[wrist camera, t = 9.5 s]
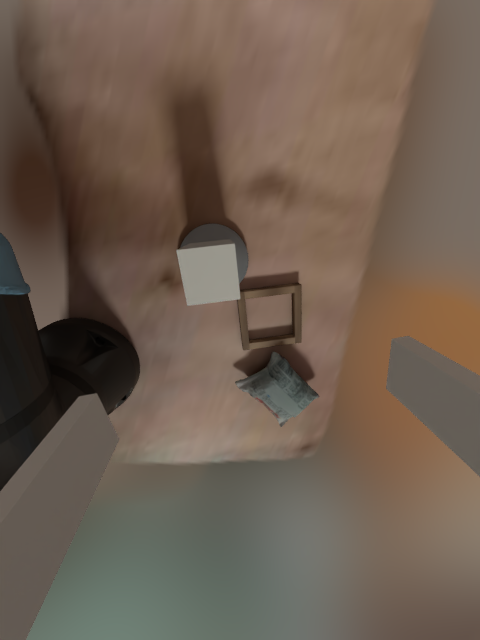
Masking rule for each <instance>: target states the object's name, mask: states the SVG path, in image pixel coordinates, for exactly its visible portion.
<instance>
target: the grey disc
mask: <svg viewBox="0 0 480 640" xmlns="http://www.w3.org/2000/svg"><path fill="white" fill-rule="evenodd" d="M226 239H230V240H231V241H232V242H234V243H235V251H236V260H237V270H238V279H239V283H240V282H241V281H242V280H243V278H244V276H245V274H246V271H247V268H248V253H247V249H246V246H245V244H244V242H243V241H242V239H241V238H240V236H239V235H238V234H237V233H236V232H234V231H233V230H232V229H230V228H228V227H226V226H224V225H220V224H205V225H202V226H199V227H197V228H195V229H194V230H192V231H191V232H190V233H189V234H188V235H187V236H186V237H185V239H184V240H183V242H182V244H181V247H180V248H182V247H184V246H186V245H188V244H190V243H199V242H208V241H217V240H226Z"/></svg>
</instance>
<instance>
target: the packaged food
mask: <svg viewBox="0 0 480 640" xmlns="http://www.w3.org/2000/svg"><path fill="white" fill-rule="evenodd" d="M235 383H236V385H237V386H238V388H239V389H241V390H242V391H243V392H248V393H249V394H250V395H251V396H252V397H253V398H255V399H256V400H257V401H259V402H261V403H263V404H264V406H266V408H267V409H268V410H269V411H270V412H272V413H273V415H274V416H275V417H276V418H277V420H278V422H279V424H280V427H282V426H283V425H284V424H285V422H287V420H288V419H289V418H291V417H292V416H293V417H294V418H295V417H296V416H297V415H298V414H299V413H300V412H301V411H302V410H304V409H305V408H306V407H307V406H308V405H309V404H310V403H311V402H312V401H313V400H314V399H316V398H318V397H319V395H318V394H317V393H316V392H315V391H314V390H313V389H312V388H311V387H310V386H309V385H308V384H307V383H306V382H305V381H304V380H303V379H302V378H301V377H300V376H298V375H297V373H296V372H295V371H294V370H293V369H292V368H291V366H290V365H289V363H288V361H287V360H286V359H285V358H284V357H282V356H281V355H280V354H278V353H276V352H273V353H272V354H271V360H270V361H269V363H268V365H267V366H266V367H265V368H264V369H262V370H261V371H260V372H258V373H256V374H254V375H252V376H250V377H247V378H245V379H243V380H239V381H236V382H235Z"/></svg>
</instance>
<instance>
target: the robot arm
mask: <svg viewBox="0 0 480 640" xmlns="http://www.w3.org/2000/svg"><path fill="white" fill-rule="evenodd" d="M29 292H30V287H29V285H28V284H26V283H25V282H24V279H23V276H22V274H21V271H20V268H19V265H18V263H17V260H16V257H15V255H14V252H13V249H12V247H11V245H10V243H9V242H8V240H7V239H6V238H5V237H4V236H3V235H2V234H1V233H0V640H26V638H27V636H28V633H29V632H30V629H31V627H32V625H33V623H34V621H35V619H36V617H37V614H38V612H39V610H40V608H41V606H42V604H43V602H44V599H45V597H46V595H47V593H48V591H49V589H50V587H51V584H52V582H53V580H54V578H55V576H56V574H57V572H58V569H59V567H60V565H61V563H62V561H63V559H64V557H65V555H66V552H67V550H68V548H69V546H70V544H71V542H72V540H73V537H74V535H75V533H76V531H77V529H78V527H79V524H80V522H81V520H82V518H83V516H84V514H85V512H86V510H87V507H88V505H89V503H90V501H91V499H92V497H93V495H94V492H95V490H96V488H97V486H98V484H99V482H100V480H101V477H102V475H103V473H104V471H105V469H106V467H107V465H108V462H109V460H110V458H111V456H112V454H113V452H114V450H115V447H116V445H117V443H118V441H119V437H118V435H117V433H116V431H115V429H114V427H113V425H112V423H111V421H110V419H109V417H108V415H109V414H110V413H111V412H113V411H114V410H115V409H116V408H117V407H119V406H120V405H121V404H122V403H123V402H125V401H126V399H127V398H128V397H129V396H130V394H131V393H132V391H133V389H134V387H135V385H136V383H137V381H138V378H139V374H140V364H139V360H138V356H137V354H136V352H135V350H134V348H133V347H132V345H131V344H130V343H129V342H128V340H127V339H126V338H125V337H124V336H122V335H121V334H120V333H119V332H117V331H116V330H114V329H113V328H111V327H109V326H107V325H105V324H103V323H100V322H97V321H94V320H89V319H82V318H69V319H63V320H59V321H56V322H53V323H51V324H50V325H47V326H46V327H44V328H42V329H41V330H39V331H38V329H37V325H36V322H35V318H34V315H33V311H32V308H31V304H30V301H29V297H28V293H29ZM386 389H387V390H388V391H389V392H391V393H392V394H393V395H394V396H395V397H396V398H397V399H398V400H399V401H400V402H401V403H402V404H403V405H404V406H405V407H406V408H408V409H409V410H410V411H411V412H412V413H413V414H414V415H415V416H416V417H417V418H418V419H419V420H420V421H421V422H423V424H425V425H426V426H427V427H428V428H429V429H430V430H431V431H432V432H433V433H434V434H435V435H436V436H437V437H438V438H439V439H440V440H441V441H443V442H444V443H445V444H446V445H447V446H448V447H449V448H450V449H451V450H452V451H453V452H454V453H455V454H456V455H457V456H459V457H460V458H461V459H462V460H463V461H464V462H465V463H466V464H467V465H468V466H469V467H470V468H471V469H472V470H473V471H474V472H475V473H477V474H478V475H479V476H480V376H479V375H478V374H476V373H474V372H472V371H470V370H469V369H467V368H465V367H463V366H461V365H460V364H458V363H456V362H454V361H452V360H450V359H449V358H447V357H445V356H444V355H442V354H440V353H438V352H436V351H435V350H432V349H431V348H429V347H427V346H426V345H424V344H422V343H420V342H418V341H417V340H415V339H413V338H411V337H409V336H405V337H400V338H395V339H392V342H391V351H390V359H389V368H388V377H387V386H386Z"/></svg>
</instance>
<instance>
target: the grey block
mask: <svg viewBox="0 0 480 640" xmlns="http://www.w3.org/2000/svg"><path fill="white" fill-rule="evenodd" d="M176 251H177V256H178V261H179V266H180V271H181V276H182V281H183V286H184V291H185V296H186V301H187V306H189V305H197V304H205V303H213V302H221V301H229V300H238V299H240V289H239V279H238V270H237V260H236V251H235V243H234V242H232V241H231V240H230V239H226V240H217V241H208V242H199V243H190V244H188V245H186V246H184V247H182V248H180V249H178V250H176Z"/></svg>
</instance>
